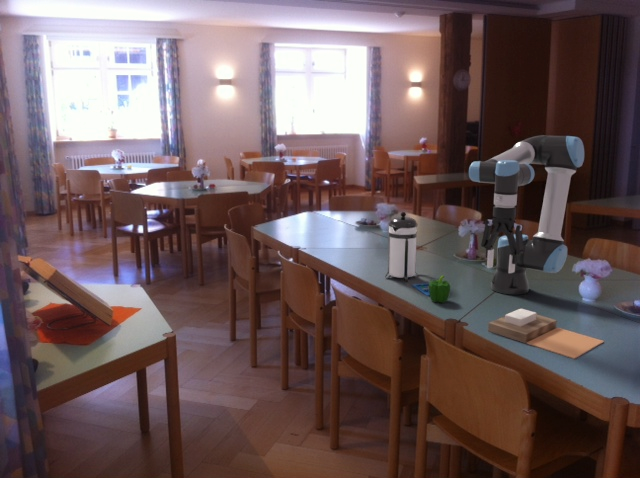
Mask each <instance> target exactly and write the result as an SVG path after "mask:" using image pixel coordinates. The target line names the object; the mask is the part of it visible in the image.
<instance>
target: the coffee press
mask: <svg viewBox="0 0 640 478" xmlns="http://www.w3.org/2000/svg"><path fill="white" fill-rule="evenodd" d="M406 215H407V213H406V212H405V211H402V212H401V213H400V216H396V217H392V218H391V219H390V220H389V222H388V223H387V225H388V234H387V235H388V239H387V240H388V241H387V244H388V246H387V247H388V248H387V250H388V251H387V273H386V274H385V276H384V278H385V279H387V280H388V279H390V278H391V277H394V278H398V279H399V278H400V279H403V283H408V282H409V279H408V278H411V277H415V278H418V277H419V275H418V273H417V269H416V267H417V265H416V264H417V240H418V239H417V237H418V231H417V229H418V223H417V222H418V221H416V219H415V218H414V217H410V216H406ZM415 274H416V275H415ZM387 276H388V277H387Z"/></svg>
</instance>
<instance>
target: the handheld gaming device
mask: <svg viewBox="0 0 640 478" xmlns="http://www.w3.org/2000/svg"><path fill="white" fill-rule="evenodd" d="M429 283H430V282H427V283H426V282H425V283H416V284H412V287H413V288H414V289H416V290H418V291H419V292H420V293H422V294H423V295H425V296H427V297H430V293H429Z"/></svg>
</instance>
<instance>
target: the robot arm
mask: <svg viewBox="0 0 640 478" xmlns="http://www.w3.org/2000/svg"><path fill="white" fill-rule="evenodd" d="M584 161H585V146H584V143H583V140H582V139H581V138H580V137H578V136H571V135H546V134H545V135H543V134H541V135H535V136H532V137H528V138H525V139H524V140H520V141H518V142H517V143H515V144H514V145H513V147H511V148H510V149H507V150H506V151H504V152H502V153H500V154H498V155H495V156H493V157H492V158H489V159H488V160H485V161H481V160H478V161H473V162H471V164H470V165H469V168H468V177H469V179H470V180H471V181H472V182H476V183H483V184H494V193H493V205H494V206H493V207H492V217H493V218H492V219H485V220H484V229H483V230H484V231H483V233H482V234H483V235H482V240H481V244H480V245H481V247H482V248H485V258H486V259H487V261H486V269H491V268H493V267H494V256H495V249H494V247H493V246H494V245H495V243H496V241H497V238H498V237H499V234H501V233H503V234H504V235H502V236H500V237H499V238H498V241H497V246H496V248H497V253H496V270H495V272H494V275H493V277H492V280H491V282H490V289H491V290H492V291H494V292H496V293H500V294H503V295H504V294H505V295H514V296H515V295H524V294H527V293H529V289H530V285H529V280H528V277H527V274H526V272H527V271H526V269H528V270H531V271H532V270H533V271H537V272H538V271H539V272H543V273H550V274H556V273H559V272H560V271H561V270H562V268H563V267H564V265H565V263H566V260H567V257H568V246H567V245H565V244H564V243H565V240H564V239H563V237H562V229H563V225H564V218H565V212H566V207H567V201H568V195H569V190H570V185H571V178H572V176H573V175H574V174H575V173H576V172H577V168H580V167H582V166H583V163H584ZM531 164H533V165H544V169H545V171H546V172H547V176H546V177H547V178H546V184H545V189H544V195H543V199H542V200H543V202H542V207H541V211H540V218H539V224H538V229H537V230H538V231H537V232H536V233H535V234H534V235H533V236H532V239H530V238H529V235H527V234H523V230H524V225H523V224H518V223H516V215H517V207H516V206H517V203H518V202H517V201H518V188H519V187H521V186H527V185H528V184H530V183H531V182H533V180H534V178H535V175H536V174H535V170H534V167H533V166H532V165H531ZM492 228H493V229H492Z"/></svg>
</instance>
